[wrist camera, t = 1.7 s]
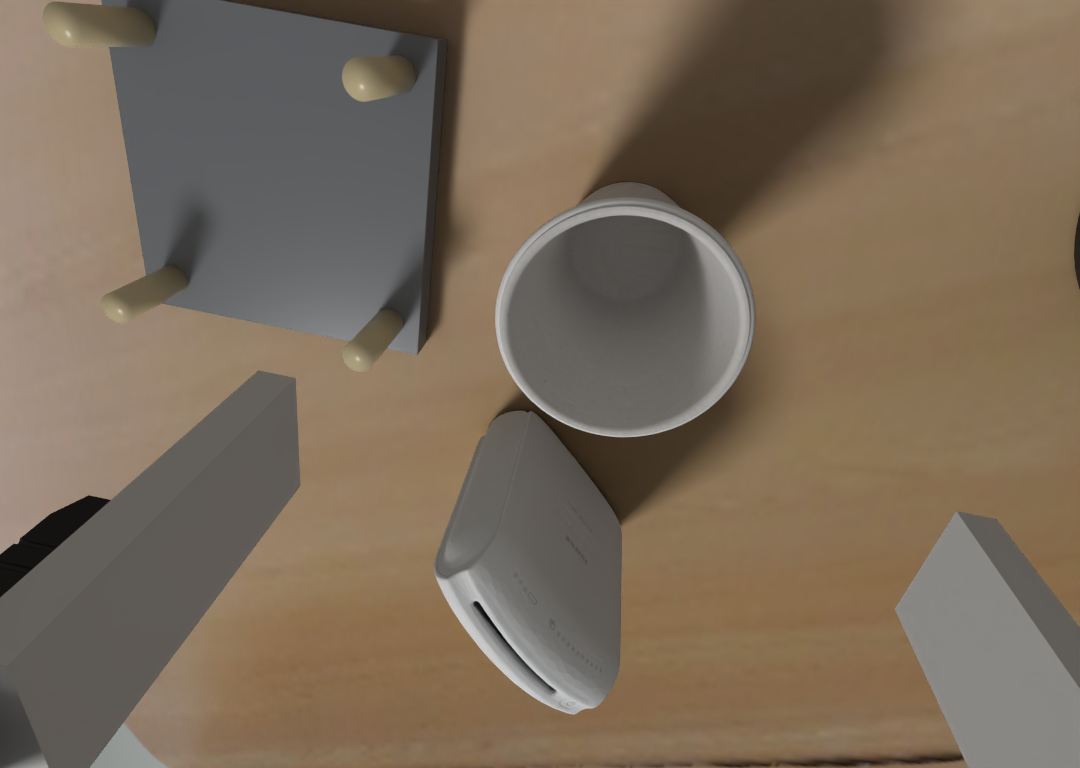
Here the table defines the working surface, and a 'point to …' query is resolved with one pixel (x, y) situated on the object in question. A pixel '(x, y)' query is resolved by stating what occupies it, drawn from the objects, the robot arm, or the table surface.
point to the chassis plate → (275, 164)
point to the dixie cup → (625, 314)
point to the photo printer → (536, 565)
